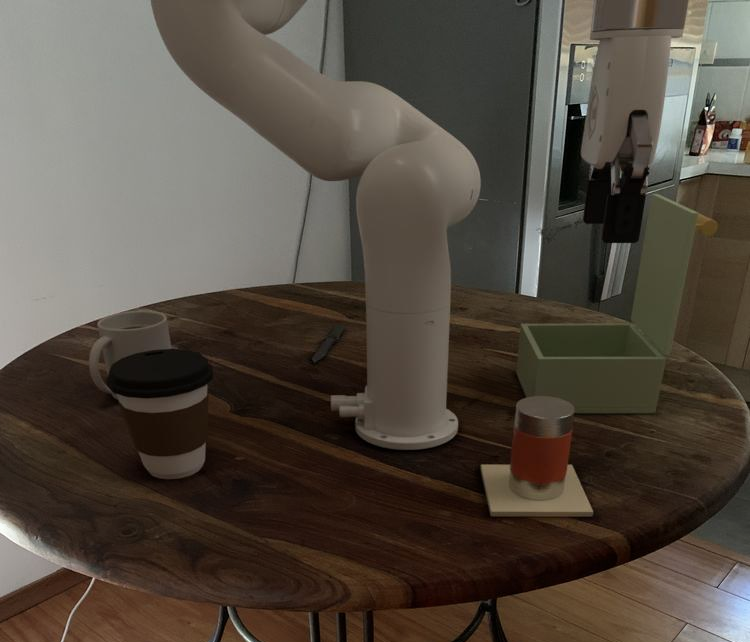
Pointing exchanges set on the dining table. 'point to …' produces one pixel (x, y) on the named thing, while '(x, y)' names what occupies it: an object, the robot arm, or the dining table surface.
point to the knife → (329, 341)
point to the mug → (127, 339)
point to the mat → (514, 505)
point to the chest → (591, 366)
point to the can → (540, 447)
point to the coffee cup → (165, 408)
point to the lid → (665, 268)
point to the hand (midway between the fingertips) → (608, 232)
